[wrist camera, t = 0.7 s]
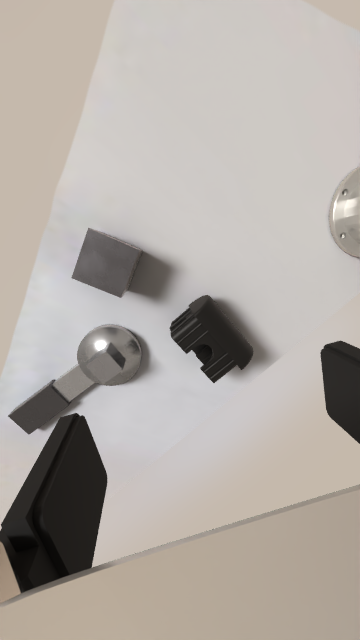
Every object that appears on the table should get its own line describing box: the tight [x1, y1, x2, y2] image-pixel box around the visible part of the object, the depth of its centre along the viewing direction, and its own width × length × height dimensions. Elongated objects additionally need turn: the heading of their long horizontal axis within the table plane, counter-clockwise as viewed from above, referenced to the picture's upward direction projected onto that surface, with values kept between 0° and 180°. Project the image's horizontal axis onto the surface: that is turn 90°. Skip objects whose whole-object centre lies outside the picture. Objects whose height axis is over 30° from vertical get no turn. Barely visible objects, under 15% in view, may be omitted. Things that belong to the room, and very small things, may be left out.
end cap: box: [170, 295, 253, 383], centre depth 36 cm, size 10×7×7 cm
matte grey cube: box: [72, 228, 143, 298], centre depth 33 cm, size 6×6×6 cm
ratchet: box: [8, 325, 142, 434], centre depth 37 cm, size 22×9×5 cm, turn 127°
